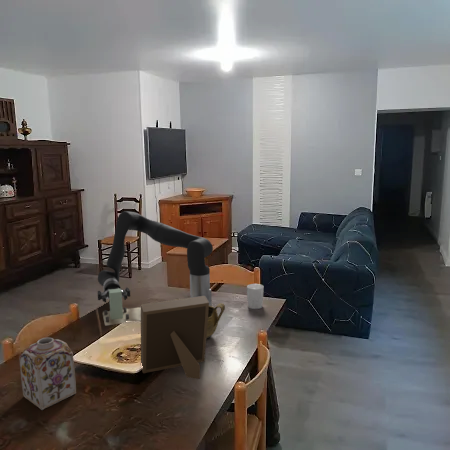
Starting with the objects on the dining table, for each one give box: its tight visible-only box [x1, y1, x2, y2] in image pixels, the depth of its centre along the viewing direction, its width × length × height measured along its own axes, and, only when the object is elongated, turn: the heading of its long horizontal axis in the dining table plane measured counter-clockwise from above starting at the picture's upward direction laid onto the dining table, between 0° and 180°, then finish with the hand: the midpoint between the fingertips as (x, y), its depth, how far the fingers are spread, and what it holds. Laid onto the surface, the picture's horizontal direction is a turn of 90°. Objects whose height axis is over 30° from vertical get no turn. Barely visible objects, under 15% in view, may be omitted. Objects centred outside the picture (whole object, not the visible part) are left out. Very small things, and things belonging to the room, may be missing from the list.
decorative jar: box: [19, 337, 77, 411], centre depth 131 cm, size 12×12×18 cm
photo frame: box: [140, 296, 209, 380], centre depth 143 cm, size 15×22×25 cm
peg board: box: [102, 306, 141, 326], centre depth 192 cm, size 24×16×4 cm, turn 110°
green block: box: [108, 288, 124, 320], centre depth 188 cm, size 5×5×12 cm
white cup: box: [246, 283, 264, 310], centre depth 203 cm, size 8×8×10 cm
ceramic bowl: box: [174, 298, 226, 340], centre depth 170 cm, size 22×17×15 cm
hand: (115, 298), depth 188 cm, fingers open, 8 cm apart
